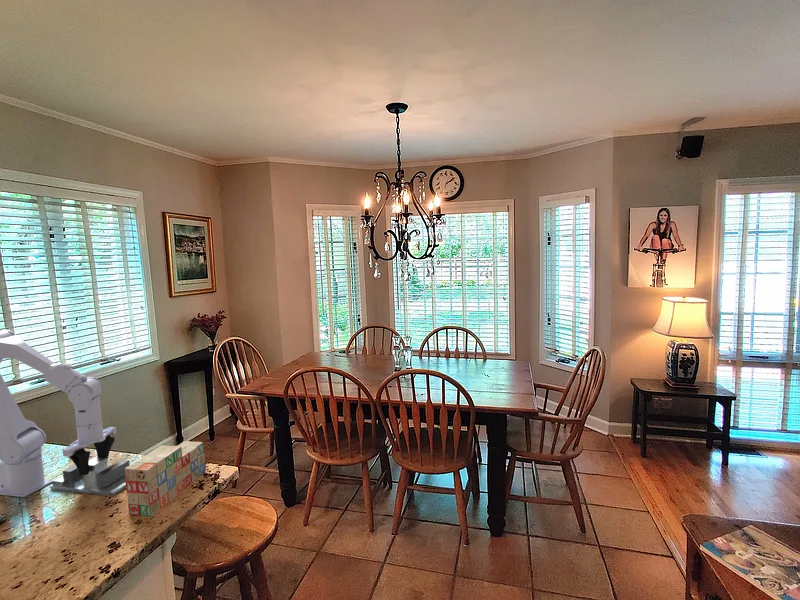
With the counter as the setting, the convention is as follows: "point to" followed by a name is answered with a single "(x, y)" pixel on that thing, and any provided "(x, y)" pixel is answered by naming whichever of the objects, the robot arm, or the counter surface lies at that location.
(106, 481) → the block
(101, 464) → the aluminium block
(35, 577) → the counter surface
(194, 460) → the stack of blocks
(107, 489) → the base
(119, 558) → the counter surface
